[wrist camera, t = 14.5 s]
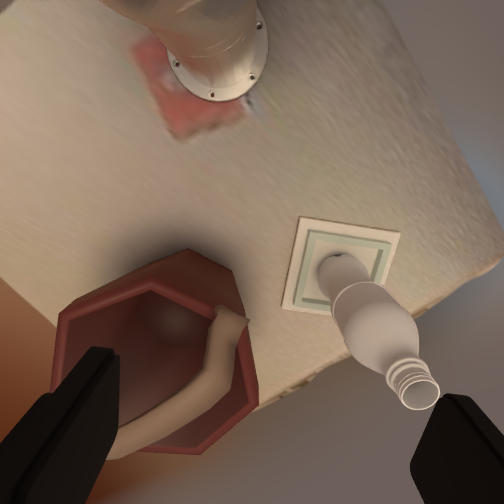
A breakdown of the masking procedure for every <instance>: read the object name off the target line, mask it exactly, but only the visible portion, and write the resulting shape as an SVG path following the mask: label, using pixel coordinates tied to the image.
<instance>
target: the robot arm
mask: <svg viewBox="0 0 504 504" xmlns="http://www.w3.org/2000/svg"><path fill="white" fill-rule="evenodd" d="M100 1H102V2H103V3H104V4H106V5H107V6H108V7H110V8H111V9H113V10H115V11H116V12H118V13H119V14H121V15H123V16H125V17H127V18H129V19H131V20H133V21H135V22H138V23H140V24H142V25H145V26H147V27H148V28H149V29H150V30H151V31H152V32H153V33H154V34H155V35H156V37H157V38H158V39H159V40H160V41H161V42H162V43H163V45H164V46H165V47H166V50H167V55H168V59H169V62H170V65H171V68H172V70H173V72H174V73H175V75H176V77H177V79H178V80H179V81H180V82H181V83H182V85H183V86H184V87H185V88H186V89H187V90H188V91H190V92H191V93H192V94H194V95H195V96H197V97H199V98H201V99H204V100H206V101H211V102H228V101H233V100H235V99H238V98H240V97H242V96H243V95H245V94H246V93H248V92H249V91H250V90H251V89H252V88H253V87H254V86H255V85H256V83H257V82H258V80H259V79H260V77H261V75H262V73H263V70H264V68H265V65H266V61H267V57H268V49H269V48H268V33H267V27H266V24H265V21H264V18H263V16H262V14H261V12H260V10H259V8H258V7H257V0H100ZM258 26H260V27H261V29H260V30H258V29H257V27H258ZM177 63H179V64H180V65H179V67H176V64H177ZM251 76H253V77H254V79H253V80H251V79H250V77H251ZM212 93H214V94H215V96H214V97H211V94H212ZM119 388H120V355H117V354H115V351H114V349H112V348H106V347H98V346H91V347H90V348H89V349H88V350H87V352H86V353H85V354H84V355H83V357H82V358H81V359H80V360H79V361H78V363H77V364H76V365H75V366H74V368H73V369H72V370H71V371H70V372H69V374H68V375H67V376H66V377H65V379H64V380H63V381H62V382H61V384H60V385H59V386H58V387H57V388H56V390H55V391H54V392H53V393H45V394H43V395H42V396H41V397H40V398H39V399H38V400H37V401H36V402H35V403H34V404H33V406H32V407H31V408H30V409H29V410H28V411H27V413H26V414H25V415H24V416H23V417H22V418H21V420H20V421H19V422H18V423H17V424H16V425H15V427H14V428H13V429H12V430H11V431H10V433H9V434H8V435H7V436H6V437H5V438H4V440H3V441H2V442H1V443H0V504H85V503H86V501H87V498H88V496H89V494H90V492H91V490H92V488H93V486H94V484H95V482H96V479H97V477H98V475H99V473H100V471H101V469H102V466H103V465H104V462H105V460H106V458H107V456H108V454H109V452H110V450H111V448H112V446H113V443H114V441H115V439H116V436H117V432H118V426H119ZM410 472H411V476H412V478H413V480H414V482H415V485H416V487H417V489H418V490H419V493H420V495H421V497H422V499H423V501H424V503H425V504H504V435H503V434H502V433H501V432H500V431H499V430H498V428H497V427H496V426H495V425H494V424H493V423H492V421H491V420H490V419H489V418H488V417H487V416H486V414H485V413H484V412H483V411H482V410H481V409H480V408H479V406H478V405H477V404H476V403H475V402H474V401H473V400H472V399H471V398H470V397H468V396H465V395H457V394H450V393H449V394H448V393H447V394H445V395H443V397H442V398H440V399H438V401H437V403H436V405H435V407H434V409H433V412H432V414H431V417H430V419H429V421H428V423H427V426H426V428H425V430H424V432H423V435H422V437H421V439H420V441H419V444H418V446H417V449H416V451H415V453H414V455H413V458H412V460H411V463H410Z"/></svg>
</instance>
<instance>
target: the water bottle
mask: <svg viewBox="0 0 504 504" xmlns="http://www.w3.org/2000/svg"><path fill="white" fill-rule="evenodd" d="M318 285H319V289H320V291H321V292H322V294H323V295H324V296H325V297H326V298H328V299H329V300H330V310H331V314H332V317H333V319H334V321H335V323H336V324H337V326H338V327H339V329H340V331H341V333H342V335H343V338H344V342H345V344H346V347H347V348H348V350H349V352H350V353H351V354H352V355H353V357H355V359H356V360H358V361H359V362H360V363H361V364H363V365H365V366H366V367H368V368H370V369H372V370H374V371H376V372H378V373H381V374H383V375H385V378H386V382H387V384H388V385H389V387H390V388H391V389H393V390H394V392H396V393H397V395H398V397H399V398H400V400H401V402H402V403H403V404H404V405H405V406H406V407H408V408H410V409H413V410H422V409H426V408H428V407H430V406H432V405H433V404H434V403H435V402H436V401H437V400H438V398H439V395H440V390H439V386H438V384H437V383H436V382H435V380H434V379H433V378H432V377H431V375H430V372H429V369H428V367H427V365H426V363H424V361H422V360H421V359H419V356H418V353H419V337H418V330H417V327H416V324H415V322H414V320H413V318H412V316H411V315H410V314H409V312H408V311H407V310H406V309H405V308H403V307H402V306H400V304H399V303H398V302H397V301H396V300H395V299H394V298H393V297H392V296H391V294H390V292H389V291H388V290H387V289H386V288H385V287H384V286H383V285H381V284H379V283H376V282H372V281H370V278H369V273H368V270H367V268H366V267H365V265H364V264H363V263H362V262H361V261H360V260H358V259H357V258H355V257H353V256H351V255H347V254H342V255H341V256H339V257H336V256H332V257H329V258H327V259H326V260H325V261H324V262H323V263H322V265H321V266H320V269H319V276H318Z"/></svg>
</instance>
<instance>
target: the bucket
mask: <svg viewBox="0 0 504 504" xmlns="http://www.w3.org/2000/svg"><path fill="white" fill-rule="evenodd" d="M249 321H250V319H248V318H246V315H245V310H244V307H243V304H242V301H241V298H240V295H239V292H238V288H237V285H236V282H235V279H234V276H233V273H232V271H231V270H229V269H227V268H225V267H223V266H222V265H220V264H218V263H216V262H214V261H212V260H210V259H208V258H206V257H204V256H203V255H201V254H199V253H197V252H195V251H193V250H191V249H189V248H188V249H186V250H183V251H181V252H178V253H175V254H173V255H170V256H168V257H165V258H163V259H160V260H157V261H155V262H152V263H150V264H147V265H145V266H143V267H141V268H139V269H137V270H134V271H132V272H130V273H128V274H126V275H124V276H122V277H120V278H118V279H116V280H114V281H112V282H110V283H108V284H106V285H104V286H102V287H100V288H98V289H96V290H94V291H92V292H90V293H88V294H85V295H83V296H81V297H79V298H77V299H75V300H74V301H73V302H72V303H71V304H69V305H68V306H67V307H66V308H65V309H64V310H62V311H61V312H60V313H59V316H58V324H57V333H56V342H55V350H54V358H53V367H52V375H51V383H50V392H49V393H53V392H54V391H55V390H56V388H57V387H58V386H59V385H60V384H61V382H62V381H63V380H64V379H65V377H66V376H67V375H68V374H69V372H70V371H71V370H72V369H73V368H74V366H75V365H76V364H77V363H78V361H79V360H80V359H81V358H82V357H83V355H84V354H85V353H86V352H87V350H88V349H89V348H90V347H91V346H98V347H106V348H112V349H114V351H115V354H117V355H120V388H119V426H118V432H117V436H116V439H115V441H114V443H113V446H112V448H111V450H110V452H109V454H108V456H107V458H106V460H110V459H119V458H121V457H123V456H125V455H128V454H130V453H132V452H135V451H136V452H153V453H172V454H190V455H201V454H202V453H203V452H204V451H205V450H207V449H208V448H209V447H210V446H211V445H213V444H214V443H215V442H216V441H217V440H218V439H220V438H221V437H222V436H223V435H224V434H226V433H227V432H228V431H229V430H230V429H231V428H232V427H234V426H235V425H236V424H237V423H238V422H240V421H241V420H242V419H243V418H244V417H246V416H247V415H248V414H249V413H250V412H251V411H253V410H254V409H255V408H256V407H257V406H259V386H258V380H257V375H256V369H255V364H254V358H253V353H252V347H251V342H250V336H249V331H248V325H247V324H248V322H249Z"/></svg>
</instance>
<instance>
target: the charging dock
mask: <svg viewBox="0 0 504 504" xmlns="http://www.w3.org/2000/svg"><path fill="white" fill-rule="evenodd" d="M400 235H401V233H400V232H397V231H391V230H385V229H378V228H372V227H366V226H359V225H353V224H346V223H340V222H334V221H327V220H321V219H314V218H308V217H302V216H300V217H299V222H298V227H297V232H296V236H295V241H294V246H293V251H292V256H291V260H290V265H289V270H288V275H287V279H286V284H285V289H284V294H283V299H282V303H281V309H287V310H294V311H301V312H308V313H315V314H322V315H329V316H332V314H331V310H330V300H329V299H328V298H326V297H325V296H324V295H323V294H322V292H321V291H320V289H319V285H318V276H319V269H320V266H321V265H322V263H323V262H324V261H325V260H326V259H327V258H329V257H332V256H336V257H339V256H341V255H342V254H347V255H351V256H353V257H355V258H357V259H358V260H360V261H361V262H362V263H363V264H364V265H365V267H366V268H367V270H368V273H369V278H370V281H372V282H376V283H379V284H381V285H383V286H384V285H385V281H386V278H387V275H388V272H389V269H390V266H391V263H392V260H393V256H394V253H395V250H396V247H397V244H398V241H399V238H400Z"/></svg>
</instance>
